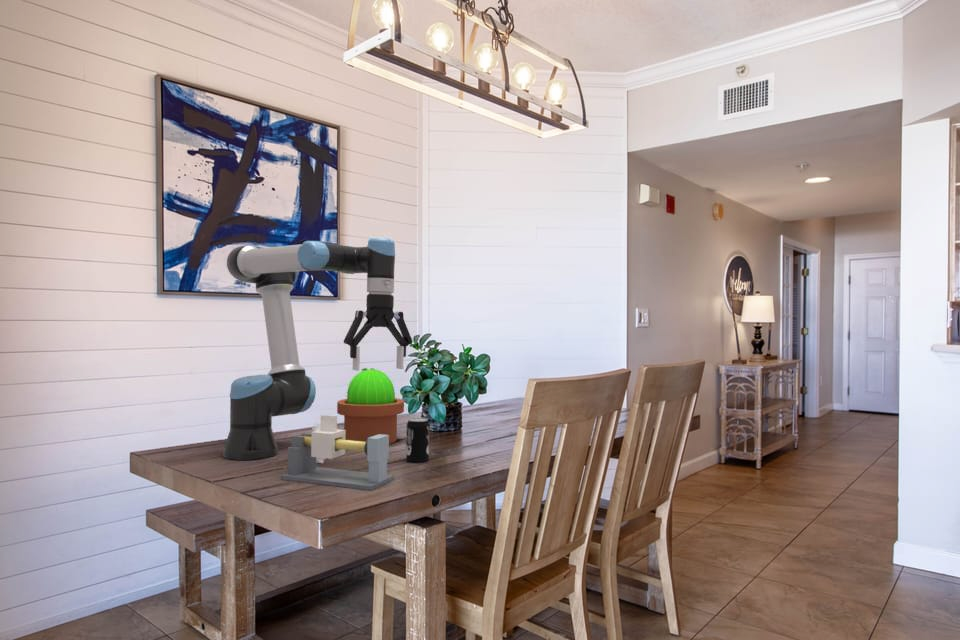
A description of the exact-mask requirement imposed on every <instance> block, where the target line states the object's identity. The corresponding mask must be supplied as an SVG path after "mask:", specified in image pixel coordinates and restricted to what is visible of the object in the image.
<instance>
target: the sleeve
mask: <svg viewBox="0 0 960 640" xmlns="http://www.w3.org/2000/svg"><path fill="white" fill-rule="evenodd" d="M320 423H321V430H318V431H314V432H312V431H311V434H312V437H311V457H319V458H325V459H331V460H332V459H334V458H337V457H340V456H344V455H345V454H346V450H344V449H335V439H341V440H345V436H346V430H344V429H339V428H338V415H331V414H330V415H329V414H320Z"/></svg>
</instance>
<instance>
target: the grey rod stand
mask: <svg viewBox="0 0 960 640" xmlns="http://www.w3.org/2000/svg"><path fill="white" fill-rule="evenodd" d="M311 437H312V433H306V432H304V433H300V435H292V436H291V446H289V447H287V473H286V474H283V475H282V476H281V480H282V481H291V482H297V483H300V482H302V483H306V484H307V483H308V484H316V485H322V486H323V485H324V486H333V487H339V488H340V487H342V488H348V489H355V488H356V489H357V490H363V491H364V490H365V491H373V490H376V489H378V488H380V487H381V486H384V485H386V484H388V483H390V482H392V481H394V480H395V475H393V474H388V459H389V457H390V456H389V455H390V452H389V451H390V448H389V447H390V444H389V435H382V434H378V435H375V436H372V437H369V438H368V439H367V441H366V442H363V441H352V440H341V439H335V449H344V450H345V451H353V452H355V451H356V452H364V454H365V455H366V457H367V460H366V461H367V462H368V472H365V471H358V470H357V471H355V470H347V469H340V468H339V469H338V468H331V467H319V466H317V463H316V457H311Z"/></svg>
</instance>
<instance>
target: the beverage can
mask: <svg viewBox="0 0 960 640" xmlns="http://www.w3.org/2000/svg"><path fill="white" fill-rule="evenodd" d="M407 420H408V421H407V422H406V440H405V441H406V445H405V446H406V447H405V448H406V449H405V450H406V452H405V455H406V456H405V457H406V460H407V462H410V463H415V464H416V463H418V464H420V463H425V462H427V461H428V460H429V459H430V423H429V421H428V420H429V419H428V418H425V417H411V418H408V419H407Z"/></svg>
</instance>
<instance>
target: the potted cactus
mask: <svg viewBox="0 0 960 640" xmlns="http://www.w3.org/2000/svg"><path fill="white" fill-rule="evenodd" d="M395 391H396V390H395V386H394V384H393V381H392V380H391V379H390V377H389V376H388V375H387V373H386V372H383V371H381V370H380V369H378V368H373V367H372V368H369V369H368V368H366V367H364V368H362V369H361V370H360V372H357V373H356V375H355V376H352V378H351V380H350V381H349V383H348V387H347V391H346V394H345V396H344V397H346V398H345V399H344V398H343V399H340V400H337V402H336V405H337V406H336V409H337V410H336V412H337V414H338V415H340V416H344V418H343V420H344V421H343V422H344V423H343V430H346V436H345V440H352V441H363V442H366V441H367V439H368V438H369V437H372V436H375V435H378V434H382V435H389V445H391V444H394V443H395V442H397V438H398V437H397V435H398V433H397V432H398V429H397V428H398V415H401V414H403V413H404V412H405V401H404V399H402V398H398V397H396V392H395Z"/></svg>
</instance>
